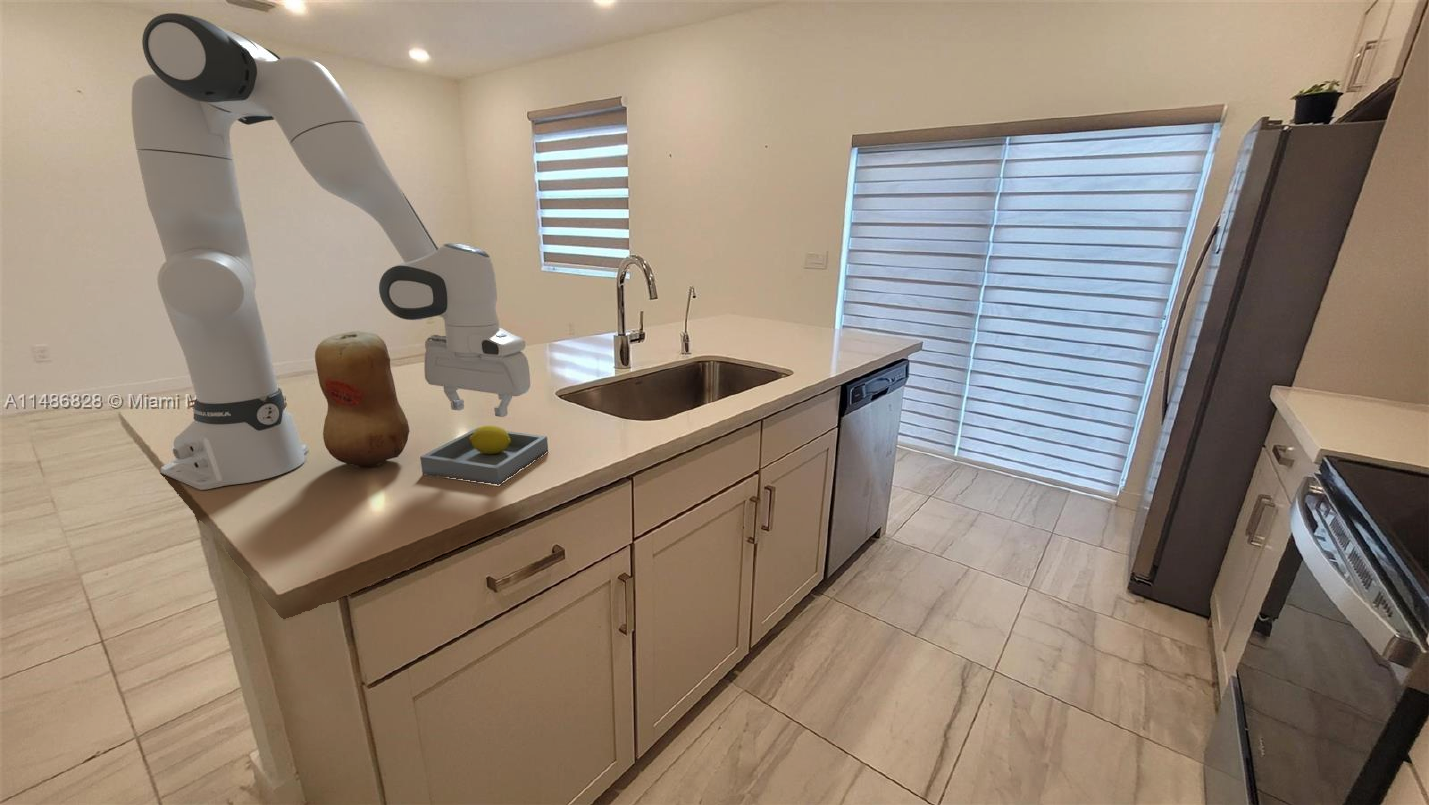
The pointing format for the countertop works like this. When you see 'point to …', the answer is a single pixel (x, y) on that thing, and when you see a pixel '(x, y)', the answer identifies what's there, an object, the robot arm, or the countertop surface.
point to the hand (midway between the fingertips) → (479, 412)
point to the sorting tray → (483, 458)
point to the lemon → (490, 439)
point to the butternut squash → (360, 400)
